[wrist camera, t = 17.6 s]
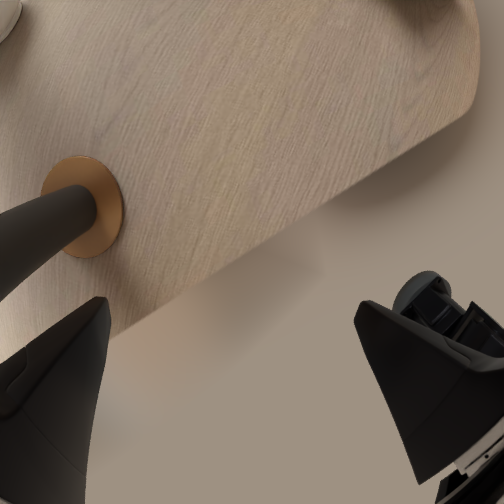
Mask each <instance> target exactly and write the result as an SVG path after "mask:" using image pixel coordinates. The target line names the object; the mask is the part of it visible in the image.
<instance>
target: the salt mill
mask: <svg viewBox="0 0 504 504" xmlns="http://www.w3.org/2000/svg"><path fill="white" fill-rule="evenodd" d="M96 214H97V208H96V203H95V200H94V197H93V195H92V194H91V193H90V191H89V190H88V189H86V188H85V187H83V186H81V185H71V186H68V187H65V188H62V189H59V190H57V191H54V192H51V193H49V194H46V195H43V196H41V197H38V198H36V199H33V200H31V201H28V202H26V203H23V204H21V205H19V206H16V207H14V208H12V209H10V210H7V211H5V212H3V213H1V214H0V302H1V301H2V300H3V299H4V298H5V297H6V296H7V295H8V294H9V293H10V292H11V291H13V290H14V289H15V288H16V287H17V286H18V285H19V284H20V283H21V282H23V281H24V280H25V279H26V278H27V277H28V276H30V275H31V274H32V273H33V272H34V271H35V270H37V269H38V268H39V267H40V266H42V265H43V264H44V263H45V262H46V261H48V260H49V259H50V258H51V257H53V256H54V255H55V254H57V253H58V252H59V251H60V250H62V249H63V248H64V247H66V246H67V245H68V244H70V243H71V242H72V241H74V240H75V239H76V238H78V237H79V236H81V235H82V234H83V233H85V232H86V231H88V230H89V229H90V228H91V227H92V226H93V224H94V222H95V219H96Z"/></svg>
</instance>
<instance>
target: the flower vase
mask: <svg viewBox="0 0 504 504" xmlns="http://www.w3.org/2000/svg"><path fill="white" fill-rule="evenodd" d="M21 10H22V3H21V2H20V0H0V43H1V42H2V41H3V40H4V39H5V38H6V37H7V36H8V34H9V33H10V32H11V30H12V29H13V27H14V26H15V24H16V22H17V20H18V18H19V16H20V13H21Z"/></svg>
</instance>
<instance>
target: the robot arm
mask: <svg viewBox="0 0 504 504" xmlns="http://www.w3.org/2000/svg"><path fill="white" fill-rule="evenodd" d="M354 325H355V328H356V330H357V333H358V336H359V339H360V342H361V344H362V347H363V350H364V353H365V355H366V358H367V360H368V362H369V364H370V366H371V369H372V371H373V373H374V375H375V377H376V380H377V382H378V384H379V386H380V388H381V391H382V393H383V395H384V398H385V400H386V402H387V404H388V407H389V409H390V412H391V414H392V417H393V419H394V421H395V424H396V426H397V429H398V431H399V434H400V436H401V438H402V441H403V444H404V447H405V449H406V452H407V455H408V458H409V460H410V463H411V465H412V468H413V471H414V474H415V477H416V480H417V482H418V484H419V485H420V484H422V483H424V482H425V481H427V480H428V479H430V478H431V477H433V476H434V475H436V474H437V473H439V472H440V471H441V470H443V469H444V468H446V467H447V466H448V465H450V464H451V463H452V462H454V464H455V465H456V467H457V469H456V470H455V471H453V472H452V473H451V474H449V475H448V476H447V477H445V478H444V479H443V480H441V481H440V485H439V489H438V493H437V497H436V501H435V504H504V328H503V327H502V326H501V325H500V324H499V323H498V322H496V321H495V320H494V319H493V318H492V317H491V316H490V315H489V314H488V313H486V312H485V311H484V310H483V309H481V308H480V307H479V306H478V305H477V304H475V303H474V302H473V301H472V302H471V303H470V306H469V308H468V309H467V311H465V310H464V309H463V308H462V307H461V306H460V305H458V304H457V303H456V302H455V301H454V300H453V299H451V297H450V296H449V293H448V291H447V289H446V286H445V284H444V282H443V279H442V278H441V277H440V276H437V277H435V278H434V280H433V281H432V282H431V283H430V284H429V285H428V286H427V287H426V288H425V289H424V290H423V291H422V292H421V293H420V294H419V295H418V296H417V297H416V298H415V299H414V300H413V301H412V302H411V303H410V304H409V305H408V306H407V307H405V308H404V309H403V310H402V311H401V312H400V314H398V313H396V312H394V311H392V310H390V309H388V308H386V307H384V306H382V305H380V304H377V303H375V302H373V301H371V300H368V301H362V302H361V303H360V305H359V307H358V310H357V312H356V315H355V317H354ZM110 328H111V315H110V309H109V303H108V299H107V298H106V297H98V296H96V297H94V298H92V299H91V300H89V301H88V302H86V303H85V304H83V305H82V306H80V307H79V308H77V309H76V310H74V311H73V312H72V313H70V314H69V315H67V316H66V317H64V318H63V319H62V320H60V321H59V322H57V323H56V324H55V325H53V326H52V327H50V328H49V329H48V330H46V331H45V332H43V333H42V334H41V335H39V336H38V337H37V338H35V339H34V340H32V341H31V342H30V343H28V344H27V345H26V348H25V347H23V348H22V349H20V350H19V351H18V352H16V353H15V354H14V355H12V356H11V357H10V358H8V359H7V360H6V361H4V362H3V363H1V364H0V504H85V488H86V472H87V462H88V453H89V446H90V439H91V432H92V425H93V420H94V414H95V409H96V404H97V399H98V393H99V389H100V385H101V380H102V376H103V371H104V367H105V362H106V355H107V348H108V341H109V334H110Z"/></svg>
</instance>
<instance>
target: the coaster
mask: <svg viewBox="0 0 504 504" xmlns="http://www.w3.org/2000/svg"><path fill="white" fill-rule="evenodd" d="M71 185H81V186H83V187H85V188H86V189H88V190H89V191H90V193H91V194H92V195H93V197H94V200H95V203H96V208H97V214H96V219H95V222H94V224H93V226H92V227H91V228H90V229H89V230H88V231H86V232H85V233H83V234H82V235H81V236H79V237H78V238H76V239H75V240H74V241H72V242H71V243H70V244H68V245H67V246H66V247H64V248H63V249H62V250H63V251H64V252H66V253H68V254H70V255H72V256H75V257H79V258H90V257H94V256H97V255H99V254H101V253H103V252H104V251H105V250H107V249H108V248H109V247H110V246H111V245H112V243H113V242H114V241H115V239H116V238H117V236H118V234H119V231H120V228H121V225H122V220H123V201H122V195H121V192H120V189H119V186H118V184H117V182H116V180H115V178H114V176H113V175H112V173H111V172H110V171H109V170H108V169H107V168H106V167H105V166H104V165H103V164H102V163H100V162H99V161H97V160H95V159H93V158H90V157H86V156H74V157H69V158H66V159H64V160H62V161H61V162H59V163H58V164H57V165H55V166H54V167H53V168H52V170H51V171H50V172H49V174H48V175H47V177H46V179H45V181H44V184H43V187H42V190H41V196H43V195H46V194H49V193H51V192H54V191H57V190H59V189H62V188H65V187H68V186H71ZM41 196H40V197H41Z"/></svg>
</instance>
